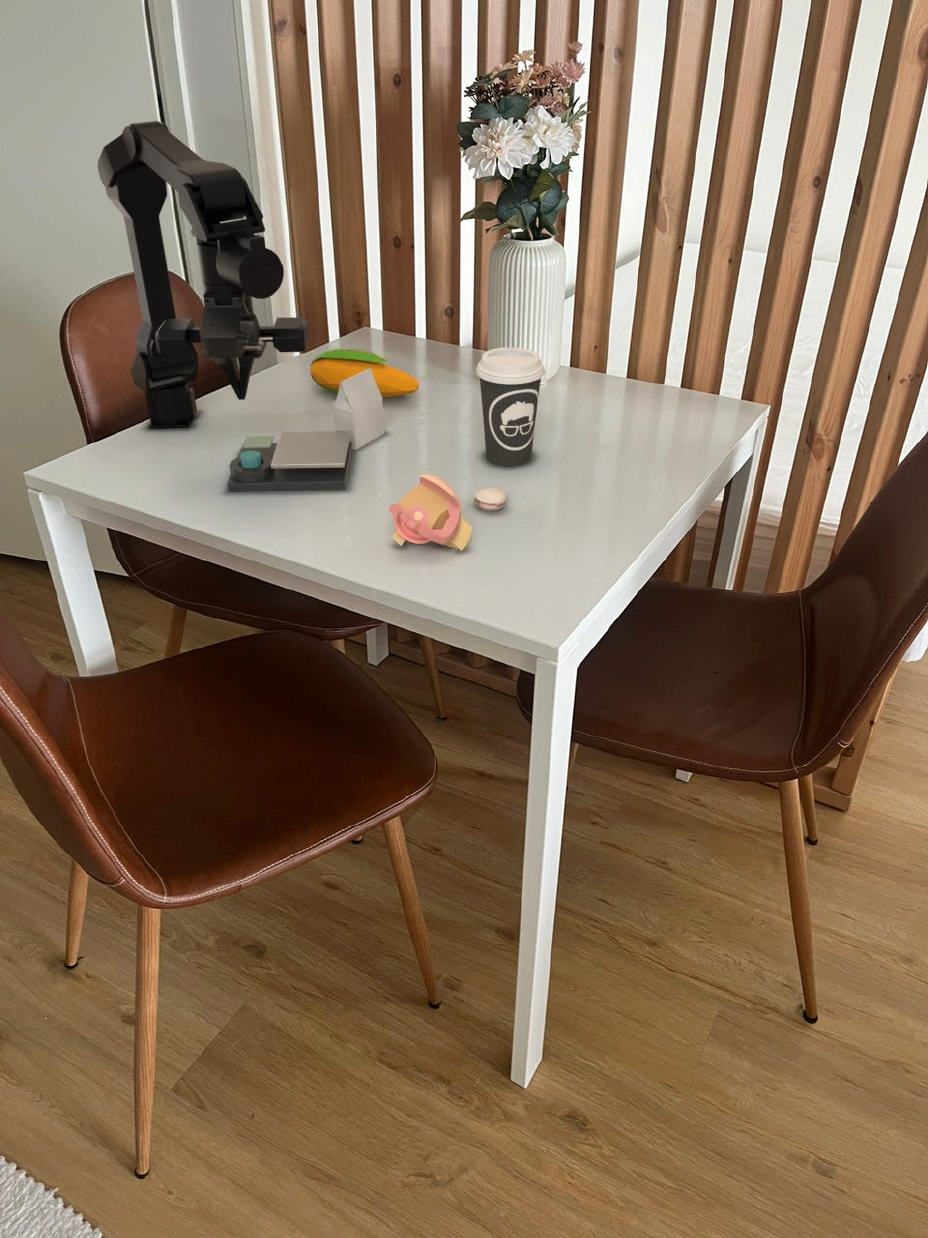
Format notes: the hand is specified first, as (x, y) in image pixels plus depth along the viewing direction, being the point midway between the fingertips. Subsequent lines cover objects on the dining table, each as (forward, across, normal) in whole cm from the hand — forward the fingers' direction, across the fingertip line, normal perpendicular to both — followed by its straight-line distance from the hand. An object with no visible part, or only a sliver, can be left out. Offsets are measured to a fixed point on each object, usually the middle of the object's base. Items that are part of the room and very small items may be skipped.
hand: (242, 398), depth 133 cm
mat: (+12, +10, +43) cm, 46 cm away
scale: (+12, +5, +3) cm, 14 cm away
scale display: (+9, 0, +6) cm, 11 cm away
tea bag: (+12, +14, +14) cm, 23 cm away
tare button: (+10, 0, 0) cm, 10 cm away
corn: (+12, +14, +31) cm, 36 cm away
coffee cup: (+12, +36, +7) cm, 39 cm away
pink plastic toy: (+12, +25, -18) cm, 33 cm away
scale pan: (+9, +8, +3) cm, 13 cm away
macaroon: (+12, +33, -8) cm, 36 cm away
